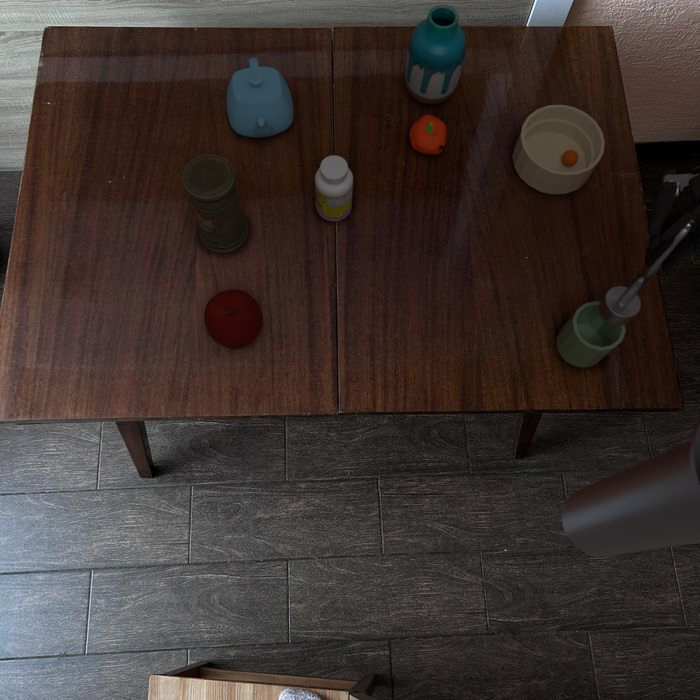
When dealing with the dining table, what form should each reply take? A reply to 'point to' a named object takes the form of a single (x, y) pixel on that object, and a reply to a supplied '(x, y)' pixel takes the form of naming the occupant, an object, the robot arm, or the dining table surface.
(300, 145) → the dining table surface
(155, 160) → the dining table surface
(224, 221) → the container
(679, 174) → the robot arm
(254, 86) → the teapot
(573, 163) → the ball
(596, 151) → the bowl
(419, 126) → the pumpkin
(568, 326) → the cup
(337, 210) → the supplement bottle
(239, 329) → the apple
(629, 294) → the ladle
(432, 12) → the vase
